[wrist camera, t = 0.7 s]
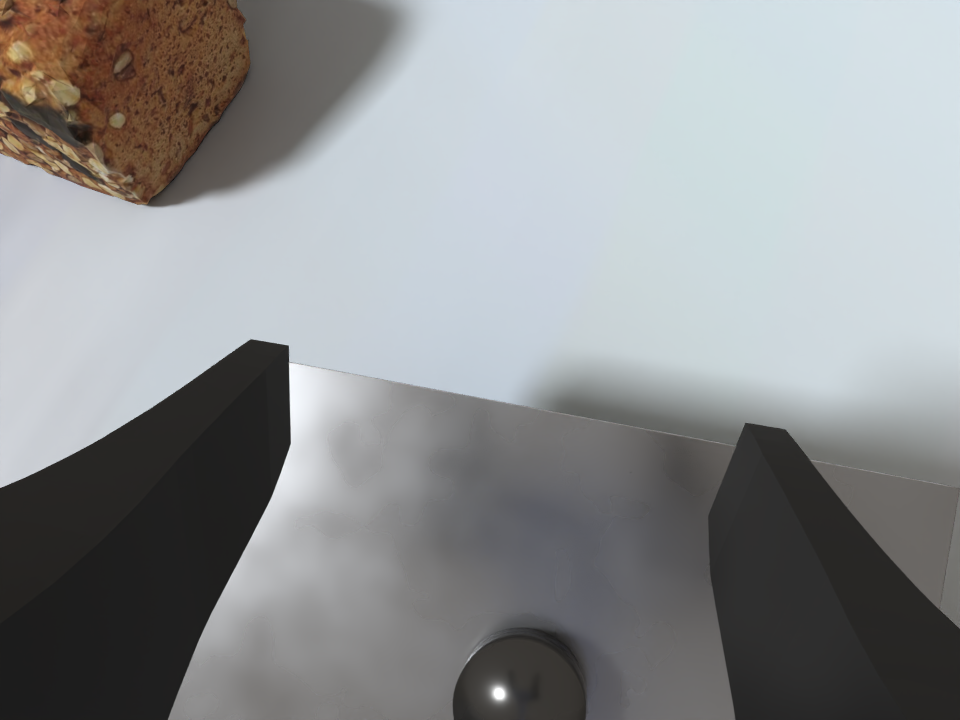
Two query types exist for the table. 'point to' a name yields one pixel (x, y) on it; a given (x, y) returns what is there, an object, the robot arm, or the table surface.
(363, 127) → the table surface
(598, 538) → the cabinet door
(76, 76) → the bread
